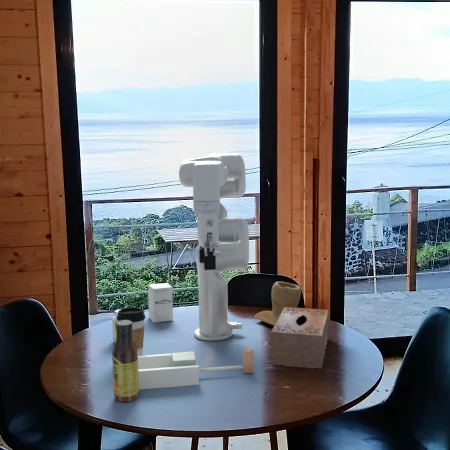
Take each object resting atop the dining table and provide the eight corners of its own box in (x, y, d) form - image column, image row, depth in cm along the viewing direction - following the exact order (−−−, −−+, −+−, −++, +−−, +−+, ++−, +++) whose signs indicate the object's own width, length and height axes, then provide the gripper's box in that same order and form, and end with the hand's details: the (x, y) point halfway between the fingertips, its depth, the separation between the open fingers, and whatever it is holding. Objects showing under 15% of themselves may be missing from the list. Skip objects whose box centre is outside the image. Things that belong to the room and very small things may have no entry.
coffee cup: (123, 365, 165) (121, 315, 163) (114, 356, 172) (112, 308, 170) (150, 360, 169) (149, 311, 167) (141, 351, 176) (139, 304, 174)
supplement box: (153, 323, 204) (152, 288, 202) (148, 317, 210) (147, 284, 209) (173, 321, 206) (172, 286, 205) (168, 315, 213) (167, 282, 211)
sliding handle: (250, 366, 162) (250, 346, 162) (255, 375, 157) (255, 354, 156) (171, 373, 159) (171, 352, 158) (173, 381, 153) (173, 360, 152)
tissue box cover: (284, 336, 190) (284, 307, 188) (328, 339, 186) (328, 310, 185) (270, 365, 165) (270, 332, 164) (321, 370, 161) (321, 335, 160)
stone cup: (307, 326, 199) (308, 284, 197) (282, 333, 192) (282, 289, 190) (278, 315, 211) (278, 276, 209) (253, 322, 204) (253, 281, 202)
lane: (194, 368, 162) (193, 348, 161) (199, 384, 151) (198, 363, 151) (129, 373, 159) (128, 353, 158) (130, 390, 148) (129, 368, 147)
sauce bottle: (115, 392, 147) (112, 318, 144) (139, 391, 147) (137, 317, 145) (112, 404, 140) (109, 326, 138) (138, 403, 141) (135, 325, 138)
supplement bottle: (133, 341, 185) (132, 310, 184) (118, 345, 182) (117, 314, 180) (125, 337, 189) (124, 307, 188) (110, 340, 186) (108, 310, 184)
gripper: (225, 209, 154) (225, 272, 157) (214, 203, 171) (215, 259, 174) (197, 210, 153) (198, 273, 155) (189, 204, 170) (190, 260, 172)
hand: (207, 266), depth 164 cm, fingers open, 9 cm apart
